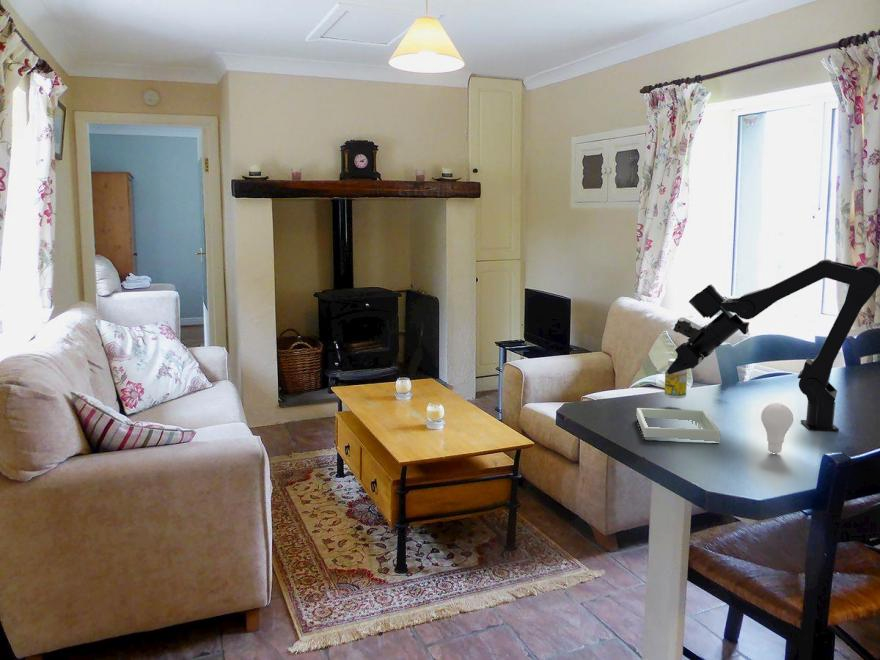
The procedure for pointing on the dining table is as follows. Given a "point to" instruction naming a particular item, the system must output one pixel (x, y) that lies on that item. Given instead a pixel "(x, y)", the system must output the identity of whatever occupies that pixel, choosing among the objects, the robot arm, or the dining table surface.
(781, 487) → the dining table surface
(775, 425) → the lightbulb
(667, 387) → the supplement bottle
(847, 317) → the robot arm
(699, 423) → the bin
